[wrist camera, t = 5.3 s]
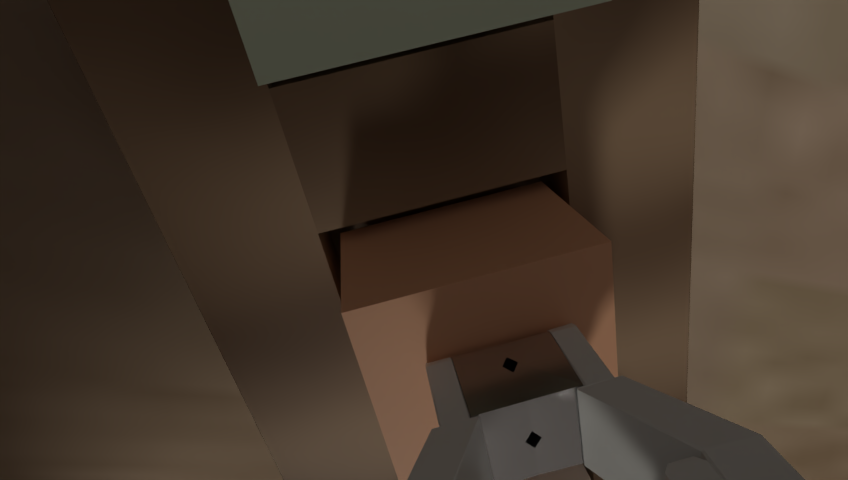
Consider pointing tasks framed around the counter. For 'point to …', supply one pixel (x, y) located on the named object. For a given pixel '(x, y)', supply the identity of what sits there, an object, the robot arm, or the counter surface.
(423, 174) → the walnut button board
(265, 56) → the sage button
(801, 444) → the counter surface
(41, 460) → the counter surface
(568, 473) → the grey button
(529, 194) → the terracotta button
